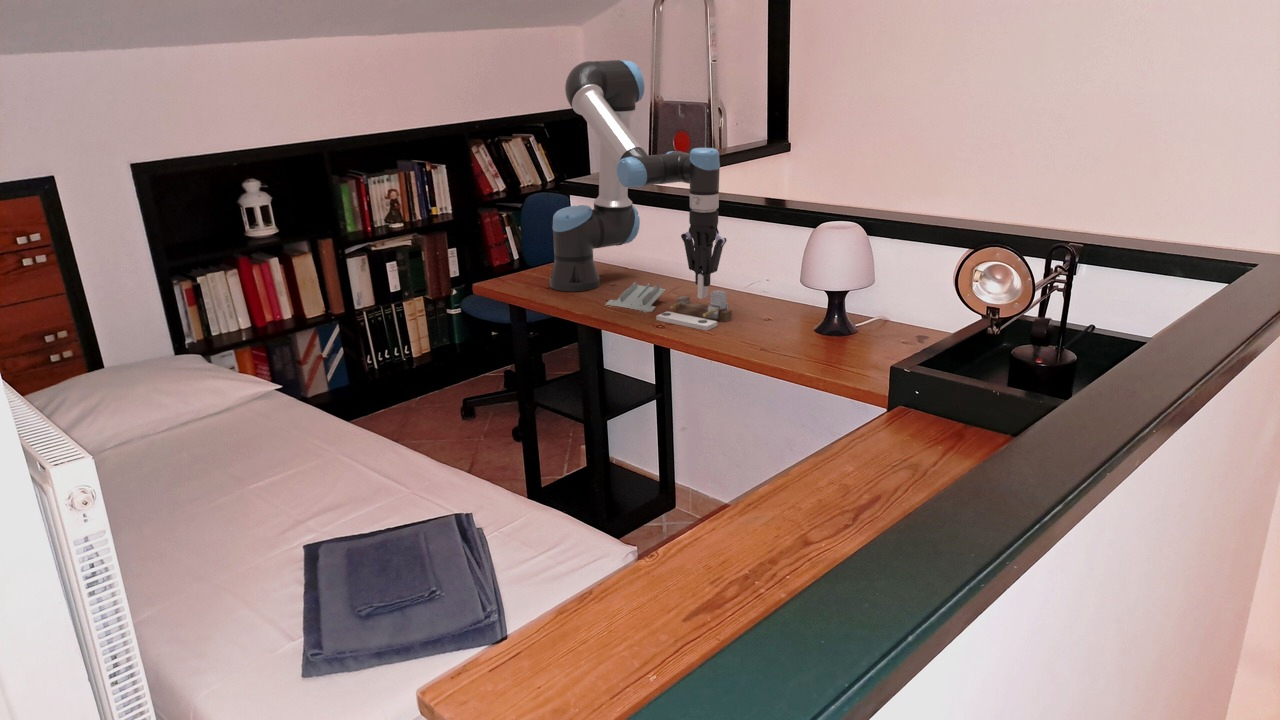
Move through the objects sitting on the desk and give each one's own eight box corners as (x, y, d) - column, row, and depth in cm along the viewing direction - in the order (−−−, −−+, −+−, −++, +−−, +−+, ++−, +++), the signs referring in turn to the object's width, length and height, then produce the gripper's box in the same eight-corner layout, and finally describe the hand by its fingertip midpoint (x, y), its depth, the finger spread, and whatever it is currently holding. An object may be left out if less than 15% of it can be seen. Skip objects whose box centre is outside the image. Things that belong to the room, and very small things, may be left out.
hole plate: (656, 320, 243) (656, 315, 242) (667, 315, 246) (667, 310, 246) (706, 330, 233) (707, 325, 233) (717, 325, 237) (717, 321, 237)
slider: (699, 320, 239) (699, 296, 236) (718, 312, 246) (718, 288, 243) (708, 322, 237) (709, 298, 235) (728, 314, 244) (728, 290, 242)
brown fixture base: (666, 315, 246) (666, 301, 245) (681, 309, 252) (681, 295, 250) (716, 326, 237) (717, 311, 236) (731, 319, 242) (731, 304, 241)
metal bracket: (627, 276, 264) (672, 283, 257) (630, 294, 268) (675, 300, 260) (601, 301, 255) (647, 309, 247) (605, 319, 258) (651, 327, 250)
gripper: (675, 209, 237) (674, 296, 245) (717, 214, 230) (715, 304, 238) (691, 204, 243) (690, 290, 251) (733, 209, 235) (730, 297, 244)
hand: (702, 297), depth 244 cm, fingers closed
